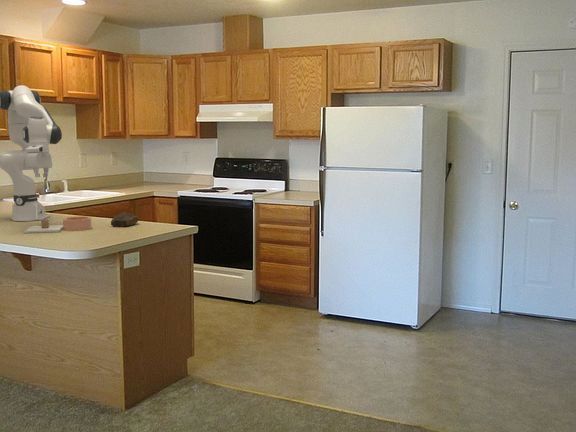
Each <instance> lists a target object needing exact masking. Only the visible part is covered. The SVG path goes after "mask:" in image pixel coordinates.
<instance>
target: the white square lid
mask: <svg viewBox="0 0 576 432" xmlns="http://www.w3.org/2000/svg"><path fill="white" fill-rule="evenodd" d="M49 220H50V219H48V218H45V219H43V220H40V222H41V224H40V225H31V226H30V227H28V228H27V229H26V230H24V233H29V234H42V233H41V232H58V233H61V232H62V231H63V230H64V229H63V224H50V222H49ZM62 229H63V230H62ZM61 230H62V231H61ZM60 231H61V232H60Z"/></svg>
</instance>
